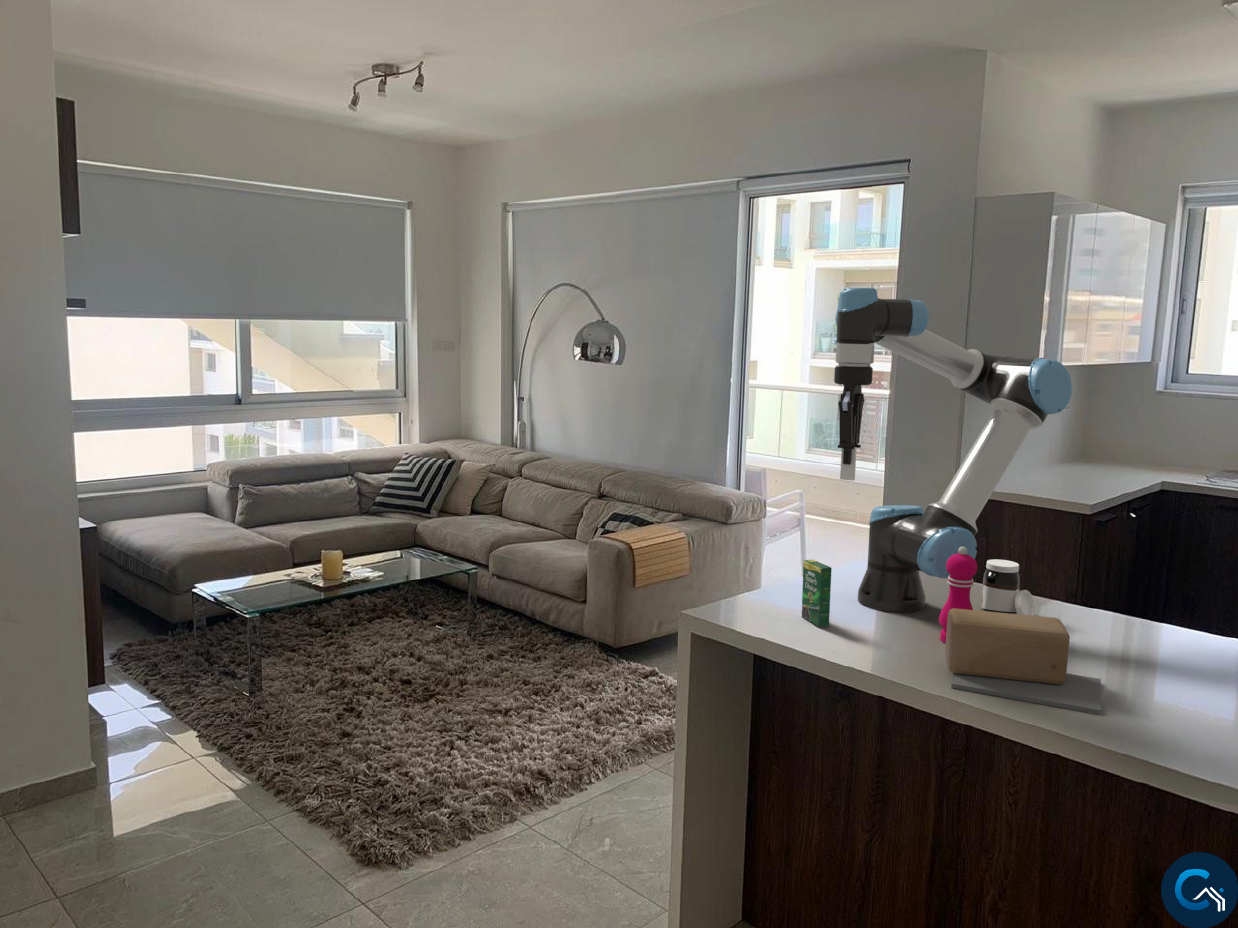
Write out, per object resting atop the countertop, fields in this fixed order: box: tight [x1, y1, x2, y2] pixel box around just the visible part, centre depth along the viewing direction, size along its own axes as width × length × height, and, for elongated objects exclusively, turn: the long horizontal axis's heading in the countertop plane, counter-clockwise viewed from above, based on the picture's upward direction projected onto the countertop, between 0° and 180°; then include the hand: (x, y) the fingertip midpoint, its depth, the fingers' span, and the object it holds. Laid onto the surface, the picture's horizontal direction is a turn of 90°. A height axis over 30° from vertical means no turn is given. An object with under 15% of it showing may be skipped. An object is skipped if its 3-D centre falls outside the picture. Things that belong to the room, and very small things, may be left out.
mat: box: [950, 672, 1103, 715], centre depth 170 cm, size 16×24×1 cm, turn 64°
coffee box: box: [801, 559, 832, 628], centre depth 203 cm, size 8×3×13 cm, turn 17°
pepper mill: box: [938, 547, 978, 644], centre depth 192 cm, size 7×7×20 cm
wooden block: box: [944, 608, 1071, 685], centre depth 174 cm, size 10×10×20 cm
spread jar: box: [980, 559, 1036, 616], centre depth 211 cm, size 12×11×12 cm
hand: (847, 479), depth 194 cm, fingers closed
